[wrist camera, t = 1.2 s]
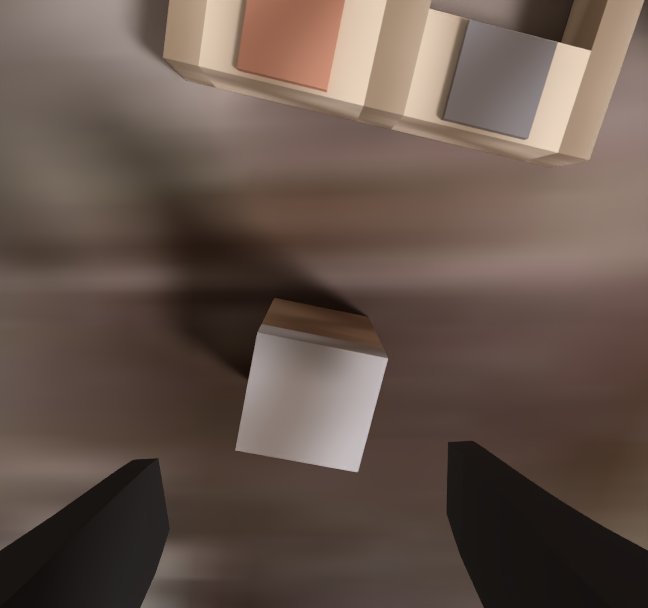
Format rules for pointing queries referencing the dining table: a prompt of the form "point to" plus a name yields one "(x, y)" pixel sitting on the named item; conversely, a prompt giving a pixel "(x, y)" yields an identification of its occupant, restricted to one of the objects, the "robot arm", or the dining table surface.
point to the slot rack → (414, 68)
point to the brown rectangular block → (312, 386)
